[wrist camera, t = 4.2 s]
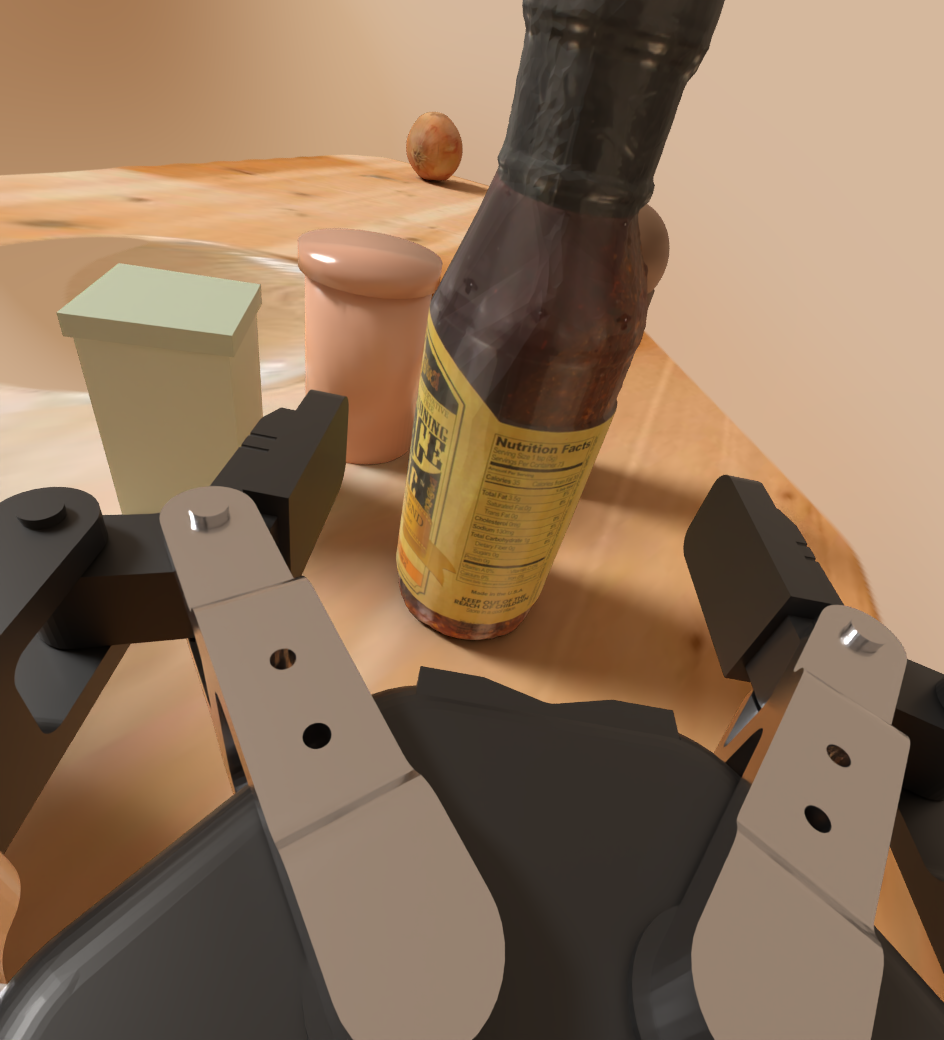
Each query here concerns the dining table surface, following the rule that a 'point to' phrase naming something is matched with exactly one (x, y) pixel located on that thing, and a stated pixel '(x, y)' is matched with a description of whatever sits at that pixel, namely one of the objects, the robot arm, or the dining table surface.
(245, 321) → the sage tin
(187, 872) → the robot arm
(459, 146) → the onion
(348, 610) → the dining table surface
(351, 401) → the terracotta jar
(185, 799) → the dining table surface
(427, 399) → the sauce bottle
